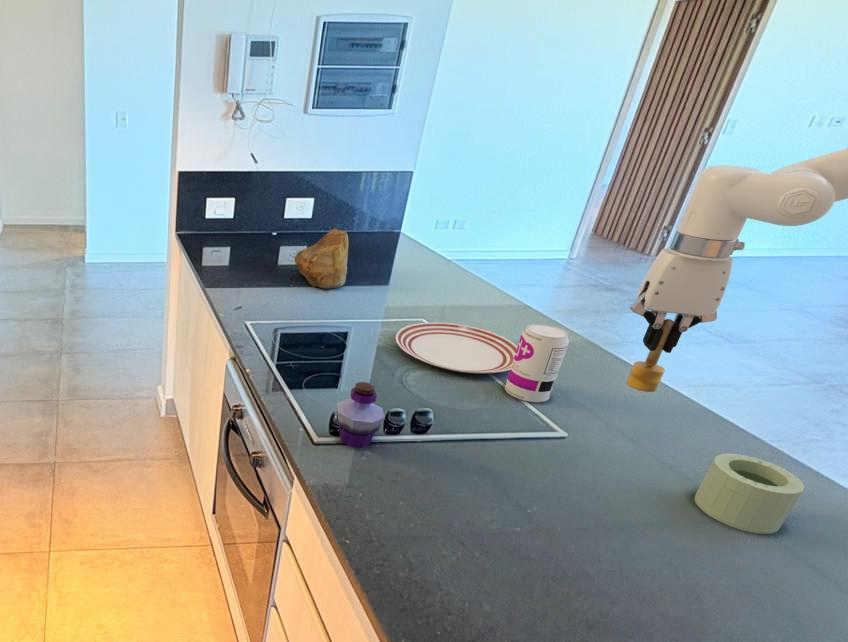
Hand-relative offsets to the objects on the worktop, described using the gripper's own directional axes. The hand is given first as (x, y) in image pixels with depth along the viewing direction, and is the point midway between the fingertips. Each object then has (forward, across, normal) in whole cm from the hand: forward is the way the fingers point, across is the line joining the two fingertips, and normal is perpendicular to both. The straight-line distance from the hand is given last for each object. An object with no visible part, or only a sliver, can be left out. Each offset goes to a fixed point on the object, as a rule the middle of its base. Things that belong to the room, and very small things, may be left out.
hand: (656, 348), depth 108 cm
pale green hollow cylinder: (+19, -10, +20) cm, 29 cm away
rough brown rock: (+19, +60, -76) cm, 99 cm away
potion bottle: (+19, +47, +18) cm, 54 cm away
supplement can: (+19, +13, -12) cm, 26 cm away
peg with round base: (+8, 0, 0) cm, 8 cm away
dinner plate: (+19, +25, -28) cm, 42 cm away
